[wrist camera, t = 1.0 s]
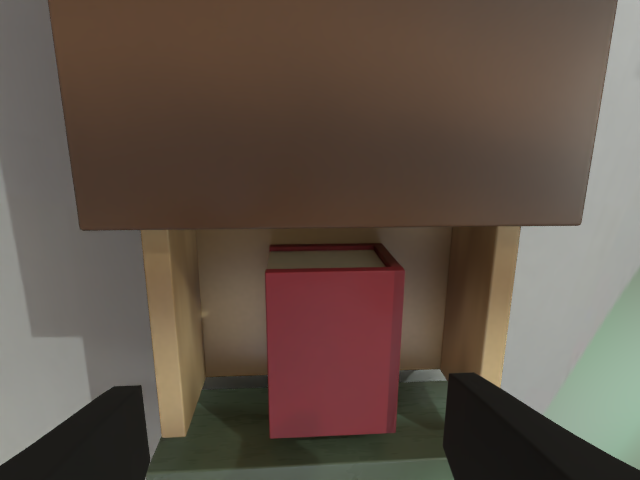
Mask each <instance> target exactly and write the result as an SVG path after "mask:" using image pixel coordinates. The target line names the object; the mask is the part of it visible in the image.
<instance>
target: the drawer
mask: <svg viewBox="0 0 640 480" xmlns="http://www.w3.org/2000/svg"><path fill="white" fill-rule="evenodd" d="M520 229H521V226H494V227H395V228H296V229H197V230H140V231H141V240H142V250H143V260H144V269H145V279H146V289H147V299H148V308H149V318H150V328H151V337H152V347H153V357H154V366H155V376H156V386H157V395H158V405H159V415H160V425H161V434H162V436H161V439H160V441H159V443H158V446H157V448H156V451H155V453H154V455H153V458H152V460H151V462H150V465H149V467H148V470H147V474H146V480H454V477H453V475H452V472H451V469H450V466H449V463H448V461H447V458H446V455H445V452H444V449H443V434H444V423H445V412H446V400H447V389H448V377H449V373H470V372H474V373H476V374H478V375H479V376H481V377H483V378H485V379H486V380H488V381H490V382H491V383H493V384H494V385H496V386H498V387H499V388H500V386H501V378H502V370H503V362H504V355H505V347H506V339H507V331H508V323H509V315H510V307H511V300H512V292H513V284H514V276H515V268H516V260H517V253H518V245H519V237H520ZM359 243H382V244H383V245H384V246H385V247H386V249H387V250H388V251H389V252H390V253H391V254H392V256H393V257H394V258H395V259H396V260H397V261H398V263H399V264H400V265H401V266H402V267H403V268H404V270H405V284H404V301H403V318H402V335H401V352H400V369H399V370H426V369H440V370H441V372H442V373H443V375H444V376H445V378H446V379H447V381H423V382H399V386H398V403H397V420H396V432H395V433H383V434H361V435H340V436H318V437H296V438H274V439H270V437H269V405H268V387H262V388H235V389H208V390H202V388H203V385H204V382H205V379H206V377H226V376H255V375H268V370H267V334H266V299H265V270H266V269H267V264H268V258H269V247H270V245H281V244H359Z"/></svg>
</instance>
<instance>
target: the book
mask: <svg viewBox="0 0 640 480" xmlns="http://www.w3.org/2000/svg"><path fill="white" fill-rule="evenodd" d="M404 284H405V270H404V268H403V267H402V266H401V265H400V264H399V263H398V261H397V260H396V259H395V258H394V257H393V256H392V254H391V253H390V252H389V251H388V250H387V249H386V247H385V246H384V245H383V244H382V243H359V244H281V245H270V247H269V258H268V264H267V269H266V270H265V299H266V334H267V370H268V405H269V437H270V439H274V438H296V437H318V436H340V435H361V434H383V433H395V432H396V420H397V403H398V386H399V369H400V352H401V335H402V318H403V301H404Z"/></svg>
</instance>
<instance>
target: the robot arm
mask: <svg viewBox="0 0 640 480" xmlns="http://www.w3.org/2000/svg"><path fill="white" fill-rule="evenodd" d="M443 449H444V452H445V455H446V458H447V461H448V463H449V466H450V469H451V472H452V475H453V477H454V480H640V470H638V469H636V468H634V467H632V466H630V465H628V464H626V463H624V462H623V461H620V460H619V459H617V458H615V457H613V456H611V455H609V454H607V453H606V452H604V451H602V450H601V449H599V448H597V447H595V446H594V445H592V444H590V443H588V442H586V441H585V440H583V439H581V438H579V437H577V436H576V435H574V434H573V433H571V432H569V431H568V430H566V429H564V428H562V427H561V426H559V425H558V424H556V423H554V422H553V421H551V420H550V419H548V418H546V417H545V416H543V415H542V414H540V413H538V412H537V411H535V410H534V409H532V408H530V407H529V406H527V405H526V404H524V403H523V402H521V401H519V400H518V399H516V398H515V397H513V396H512V395H510V394H509V393H507V392H505V391H504V390H502V389H501V388H499V387H498V386H496V385H494V384H493V383H491V382H490V381H488V380H486V379H485V378H483V377H481V376H479V375H478V374H476V373H474V372H470V373H449V377H448V389H447V400H446V412H445V423H444V434H443ZM149 464H150V454H149V446H148V438H147V429H146V421H145V412H144V404H143V395H142V387H141V385H140V386H115V387H112V388H111V389H109V390H108V391H106V392H105V393H103V394H102V395H100V396H99V397H97V398H96V399H94V400H93V401H92V402H90V403H89V404H87V405H86V406H85V407H83V408H82V409H81V410H79V411H78V412H76V413H75V414H74V415H72V416H71V417H70V418H68V419H67V420H65V421H64V422H63V423H61V424H60V425H58V426H57V427H56V428H54V429H53V430H51V431H50V432H49V433H47V434H46V435H44V436H43V437H42V438H40V439H39V440H37V441H36V442H35V443H33V444H32V445H30V446H29V447H28V448H26V449H25V450H23V451H22V452H20V453H19V454H17V455H16V456H14V457H13V458H11V459H10V460H8V461H7V462H5V463H4V464H2V465H1V466H0V480H145V477H146V474H147V470H148V467H149Z"/></svg>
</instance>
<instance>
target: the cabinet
mask: <svg viewBox="0 0 640 480" xmlns="http://www.w3.org/2000/svg"><path fill="white" fill-rule="evenodd" d="M617 1H618V0H48V5H49V12H50V19H51V26H52V34H53V41H54V48H55V55H56V62H57V69H58V76H59V84H60V91H61V98H62V105H63V112H64V119H65V126H66V134H67V141H68V148H69V155H70V162H71V169H72V177H73V184H74V191H75V198H76V205H77V212H78V219H79V227H80V229H81V230H83V231H98V230H197V229H296V228H395V227H494V226H578V225H580V224H581V221H582V215H583V209H584V203H585V197H586V191H587V185H588V178H589V172H590V166H591V160H592V154H593V148H594V142H595V136H596V130H597V123H598V117H599V111H600V105H601V99H602V93H603V87H604V81H605V75H606V69H607V62H608V56H609V50H610V44H611V38H612V32H613V26H614V20H615V14H616V8H617Z"/></svg>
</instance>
